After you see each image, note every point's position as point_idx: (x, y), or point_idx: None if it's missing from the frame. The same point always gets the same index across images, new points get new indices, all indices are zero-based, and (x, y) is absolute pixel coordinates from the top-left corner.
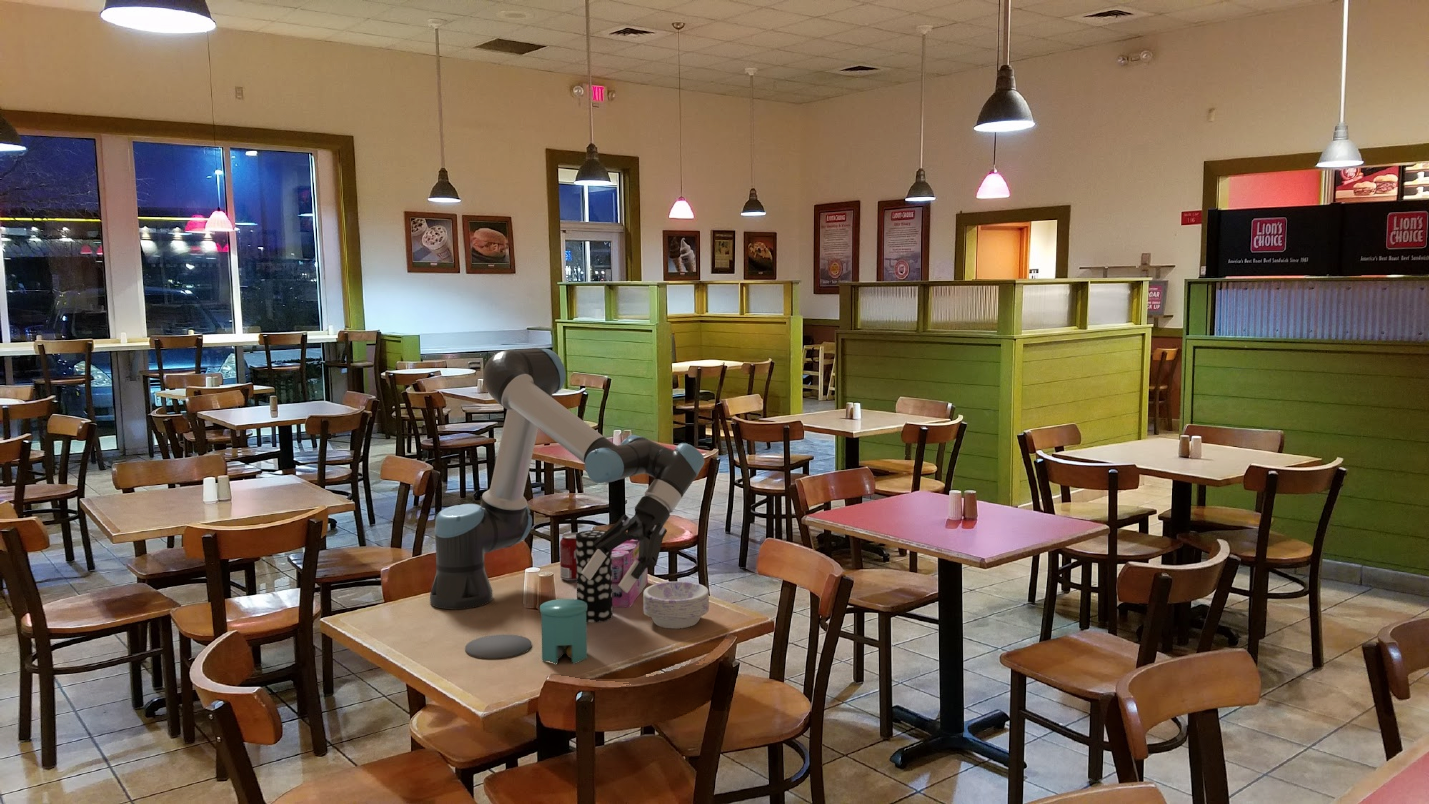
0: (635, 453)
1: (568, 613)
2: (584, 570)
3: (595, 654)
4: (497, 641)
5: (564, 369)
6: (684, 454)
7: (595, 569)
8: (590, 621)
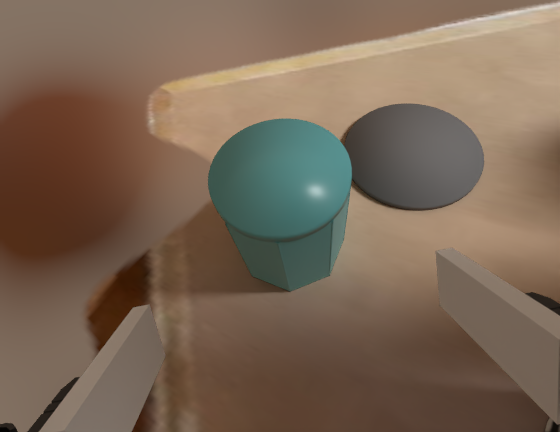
0: None
1: (212, 164)
2: (447, 256)
3: (265, 304)
4: (435, 153)
5: None
6: None
7: (471, 327)
8: (549, 420)
